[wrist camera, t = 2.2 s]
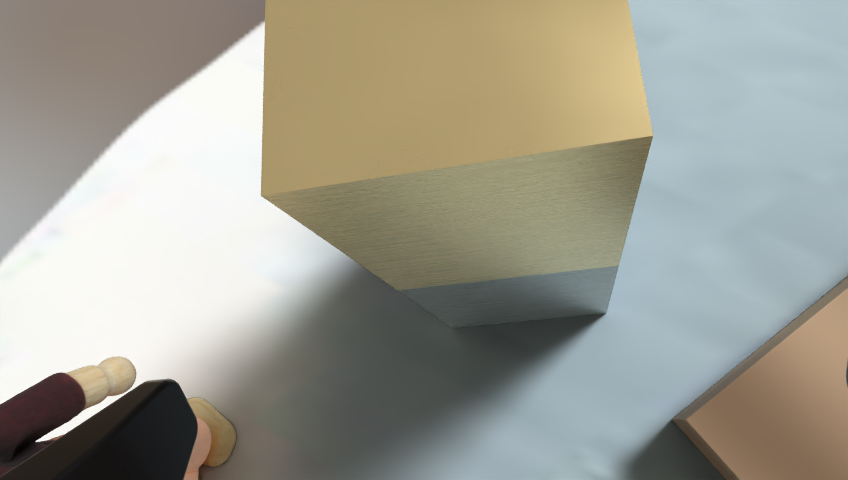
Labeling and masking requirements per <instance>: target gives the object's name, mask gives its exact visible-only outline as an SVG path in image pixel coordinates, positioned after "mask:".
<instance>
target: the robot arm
mask: <svg viewBox="0 0 848 480" xmlns="http://www.w3.org/2000/svg"><path fill="white" fill-rule="evenodd" d="M846 382H847V387H848V361H847V368H846ZM197 433H198V422H197V418H196V416H195V414H194V412H193V410H192V408H191V406H190V404H189V402H188V401H187V399H186V397H185V395H184V393H183V391H182V389H181V387H180V386H179V384H178V383H177V382H176V381H174V380H172V379H160V380H150V381H146V382H144V383H142V384H141V385H139V386H138V387H136V388H135V389H133V390H131V391H130V392H128V393H127V394H125V395H124V396H122V397H121V398H119V399H118V400H116V401H115V402H113V403H112V404H110V405H109V406H107V407H106V408H104V409H103V410H101V411H100V412H98V413H97V414H95V415H94V416H92V417H91V418H89V419H87V420H86V421H84V422H83V423H81V424H80V425H78V426H77V427H75V428H74V429H72V430H71V431H69V432H68V433H66V434H65V435H63V436H62V437H60V438H59V439H57V440H56V441H54V442H53V443H51V444H50V445H48V446H47V447H45V448H44V449H42V450H40V451H39V452H37V453H36V454H34V455H33V456H31V457H30V458H28V459H27V460H25V461H24V462H22V463H21V464H19V465H18V466H16V467H15V468H13V469H12V470H10V471H9V472H7V473H6V474H4V475H3V476H1V477H0V480H184V477H185V474H186V470H187V467H188V464H189V461H190V457H191V454H192V451H193V447H194V444H195V441H196V438H197Z"/></svg>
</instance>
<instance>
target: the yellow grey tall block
mask: <svg viewBox="0 0 848 480" xmlns="http://www.w3.org/2000/svg"><path fill="white" fill-rule="evenodd" d="M652 138H653V133H652V128H651V122H650V117H649V112H648V106H647V101H646V95H645V90H644V85H643V79H642V74H641V69H640V63H639V58H638V53H637V47H636V42H635V37H634V31H633V26H632V21H631V15H630V10H629V5H628V0H266V8H265V49H264V92H263V134H262V176H261V196H262V197H264V198H265V199H266V200H268V201H269V202H271V203H272V204H274V205H275V206H277V207H278V208H279V209H281V210H282V211H284V212H285V213H287V214H288V215H290V216H291V217H292V218H294V219H295V220H297V221H298V222H300V223H301V224H303V225H304V226H305V227H307V228H308V229H310V230H311V231H313V232H314V233H316V234H317V235H318V236H320V237H321V238H323V239H324V240H326V241H327V242H328V243H330V244H331V245H333V246H334V247H336V248H337V249H339V250H340V251H341V252H343V253H344V254H346V255H347V256H349V257H350V258H352V259H353V260H354V261H356V262H357V263H359V264H360V265H362V266H363V267H365V268H366V269H367V270H369V271H370V272H372V273H373V274H375V275H376V276H378V277H379V278H380V279H382V280H383V281H385V282H386V283H388V284H389V285H390V286H392V287H393V288H395V289H396V290H398V291H399V292H401V293H402V294H403V295H405V296H406V297H408V298H409V299H411V300H412V301H414V302H415V303H416V304H418V305H419V306H421V307H422V308H424V309H425V310H427V311H428V312H429V313H431V314H432V315H434V316H435V317H437V318H438V319H440V320H441V321H442V322H444V323H445V324H447V325H448V326H450V327H451V328H458V327H468V326H479V325H489V324H500V323H511V322H521V321H532V320H542V319H553V318H563V317H574V316H584V315H595V314H606V312H607V308H608V304H609V301H610V297H611V293H612V289H613V286H614V282H615V278H616V274H617V270H618V267H619V263H620V259H621V255H622V251H623V248H624V244H625V240H626V236H627V232H628V229H629V225H630V221H631V217H632V213H633V210H634V206H635V202H636V198H637V195H638V191H639V187H640V183H641V179H642V176H643V172H644V168H645V164H646V160H647V157H648V153H649V149H650V145H651V141H652Z"/></svg>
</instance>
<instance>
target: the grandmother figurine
mask: <svg viewBox="0 0 848 480" xmlns="http://www.w3.org/2000/svg"><path fill="white" fill-rule="evenodd" d="M135 379H136V369H135V367H134V365H133V364H132V363H131V362H130V361H129V360H128V359H126V358H123V357H111V358H108V359H106V360H104V361H102V362H101V363H100V364H99V365H98V366H86V367H82V368H80V369H77V370H74V371H71V372H68V373H56V374H53V375H51V376H49V377H47V378H46V379H44V380H42V381H41V382H39V383H37V384H36V385H34V386H32V387H30V388H28V389H26V390H25V391H23V392H21V393H19V394H17V395H16V396H14V397H12V398H11V399H9V400H7V401H6V402H4V403H2V404H0V477H1V476H3V475H4V474H6V473H7V472H9V471H10V470H12V469H13V468H15V467H16V466H18V465H19V464H21V463H22V462H24V461H25V460H27V459H28V458H30V457H31V456H33V455H34V454H36V453H37V452H39V451H40V450H42V449H44V448H45V447H47V446H48V445H50V444H51V443H53V442H54V441H56V440H57V439H59V438H60V437H62V436H63V435H62V436H58V437H55V438H52V439H50V440H47V441H41V442H35V441H36V440H38V439H39V438H41V437H42V436H44V435H46V434H47V433H49V432H51V431H52V430H54V429H56V428H58V427H59V426H61V425H63V424H64V423H67V422H69V421H70V420H71V419H72V418H74V417H75V416H77V415H78V414H79V413H80V412H81V411H83V410H85V409H86V408H89V407H91V406H93V405H96V404H98V403H100V402H102V401H103V400H104V399H105V398H106V397H107V396H115V395H119V394H122V393H124V392H126V391H127V390H129V389H130V388H131V387H132V385H133V384H134V382H135ZM187 401H188V402H189V404H190V406H191V408H192V410H193V412H194V414H195V416H196V418H197V422H198V433H197V438H196V441H195V444H194V447H193V451H192V454H191V457H190V461H189V464H188V467H187V470H186V474H185V477H184V480H199V479H198V475H199V467H200V466H201V465H202V464H204V465H207V466H211V467H214V466H219V465H221V464H223V463H224V462H225V461H226V460H227V459H228V458H229V456H230V454H231V452H232V450H233V448H234V445H235V442H236V433H235V430H234V427H233V426H232V425H231V423H230V422H229V421H228V420H227V419H226V418H224V417H223V416H222V415H221V414H220V413H219V412H218V411H217V410H216V409H215V408H214V407H212V406H211V405H210V404H209V403H208V402H207V401H205V400H203V399H201V398H190V399H187Z"/></svg>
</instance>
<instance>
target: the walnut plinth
mask: <svg viewBox="0 0 848 480" xmlns="http://www.w3.org/2000/svg"><path fill="white" fill-rule="evenodd" d="M847 361H848V276H847V277H846V278H845V279H843V280H842V281H841V282H840V283H838V284H837V285H836V286H835V287H834V288H832V289H831V290H830V291H829V292H827V293H826V294H825V295H824V296H822V297H821V298H820V299H819V300H818V301H816V302H815V303H814V304H813V305H811V306H810V307H809V308H808V309H807V310H805V311H804V312H803V313H802V314H800V315H799V316H798V317H797V318H795V319H794V320H793V321H792V322H791V323H789V324H788V325H787V326H786V327H784V328H783V329H782V330H781V331H780V332H778V333H777V334H776V335H775V336H773V337H772V338H771V339H770V340H768V341H767V342H766V343H765V344H764V345H762V346H761V347H760V348H759V349H757V350H756V351H755V352H754V353H753V354H751V355H750V356H749V357H748V358H746V359H745V360H744V361H743V362H741V363H740V364H739V365H738V366H737V367H735V368H734V369H733V370H732V371H730V372H729V373H728V374H727V375H726V376H724V377H723V378H722V379H721V380H719V381H718V382H717V383H716V384H714V385H713V386H712V387H711V388H710V389H708V390H707V391H706V392H705V393H703V394H702V395H701V396H700V397H699V398H697V399H696V400H695V401H694V402H692V403H691V404H690V405H689V406H687V407H686V408H685V409H684V410H683V411H681V412H680V413H679V414H678V415H676V416H675V417H674V418H673V419H672V420H673V421H674V422H675V423H676V424H677V425H678V427H679V428H680V429H681V430H682V431H683V432H684V433H685V434H686V436H687V437H688V438H689V439H690V440H691V441H692V442H693V443H694V445H695V446H696V447H697V448H698V449H699V450H700V451H701V452H702V454H703V455H704V456H705V457H706V458H707V459H708V460H709V461H710V462H711V464H712V465H713V466H714V467H715V468H716V469H717V470H718V471H719V473H720V474H721V475H722V476H723V477H724V478H725V479H726V480H848V387H847V382H846V368H847Z"/></svg>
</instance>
